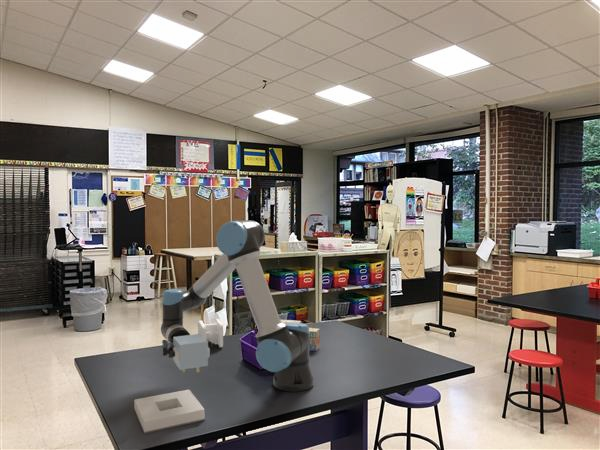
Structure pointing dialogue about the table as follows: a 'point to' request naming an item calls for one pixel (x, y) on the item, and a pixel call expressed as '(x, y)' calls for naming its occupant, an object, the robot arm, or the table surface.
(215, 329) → the cable organizer
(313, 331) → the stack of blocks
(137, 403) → the socket
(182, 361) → the grey-blue block
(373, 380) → the table surface
